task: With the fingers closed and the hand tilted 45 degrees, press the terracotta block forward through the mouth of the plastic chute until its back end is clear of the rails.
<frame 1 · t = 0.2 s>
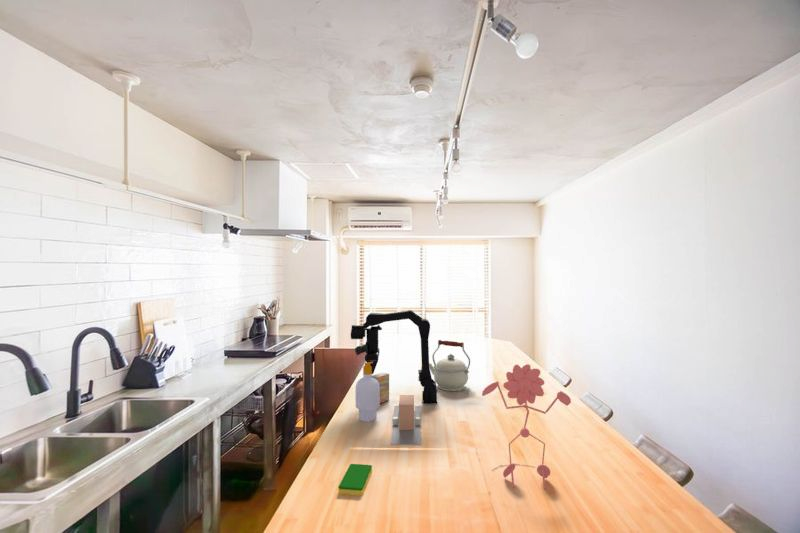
hand: (372, 371, 193), 15 cm above the table, tool pointing down, fingers open, 9 cm apart
supplement box: (380, 401, 193), on the table
dish sponge: (356, 483, 121), on the table
soap bottle: (367, 419, 171), on the table
kettle: (448, 387, 216), on the table
block: (406, 423, 164), point 1 cm above the table, touching chute
chute: (406, 422, 167), on the table
figurine: (524, 477, 124), on the table
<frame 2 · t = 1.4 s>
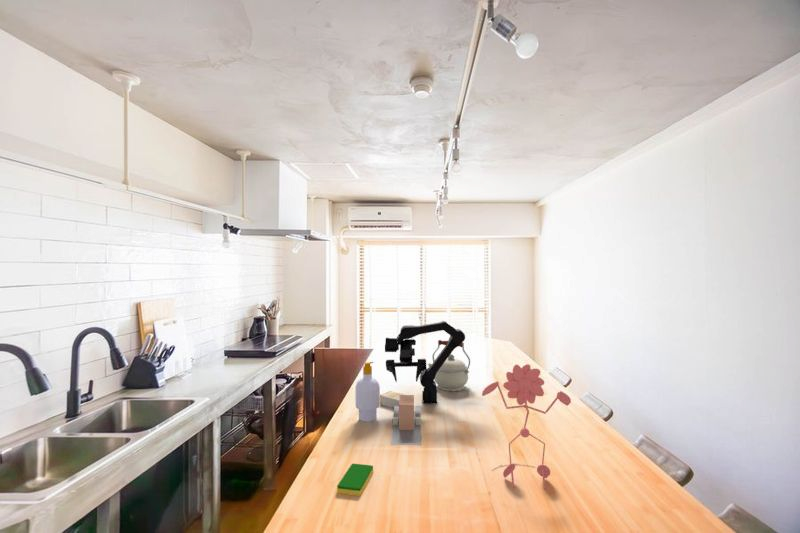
hand: (406, 381, 180), 14 cm above the table, tool tilted 45°, fingers open, 9 cm apart
supplement box: (385, 397, 192), point 2 cm above the table
everything else where it was.
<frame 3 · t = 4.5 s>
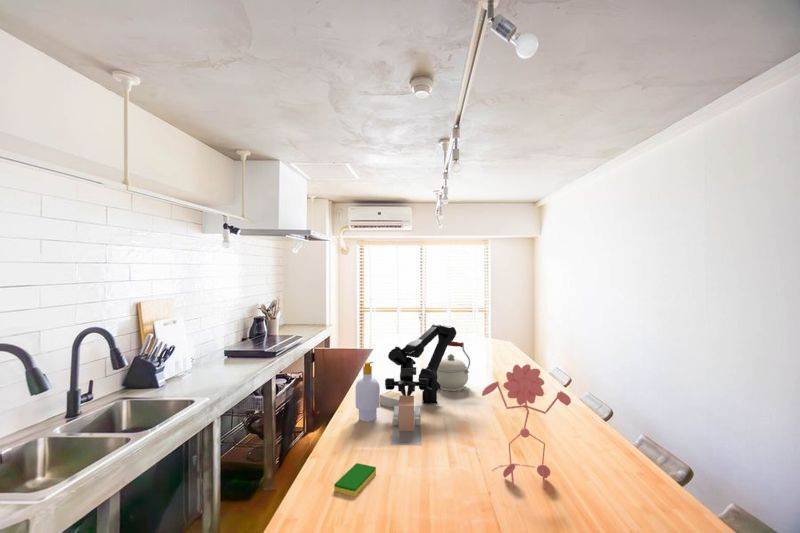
hand: (406, 402, 169), 8 cm above the table, tool tilted 45°, fingers closed, pressing on block
block: (406, 424, 163), point 1 cm above the table, touching gripper
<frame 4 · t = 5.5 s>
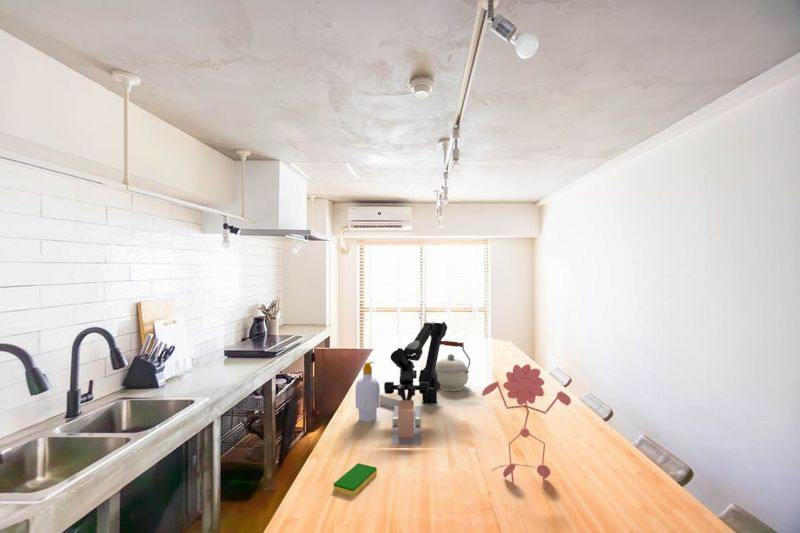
hand: (406, 407, 163), 8 cm above the table, tool tilted 45°, fingers closed
block: (406, 430, 157), point 1 cm above the table
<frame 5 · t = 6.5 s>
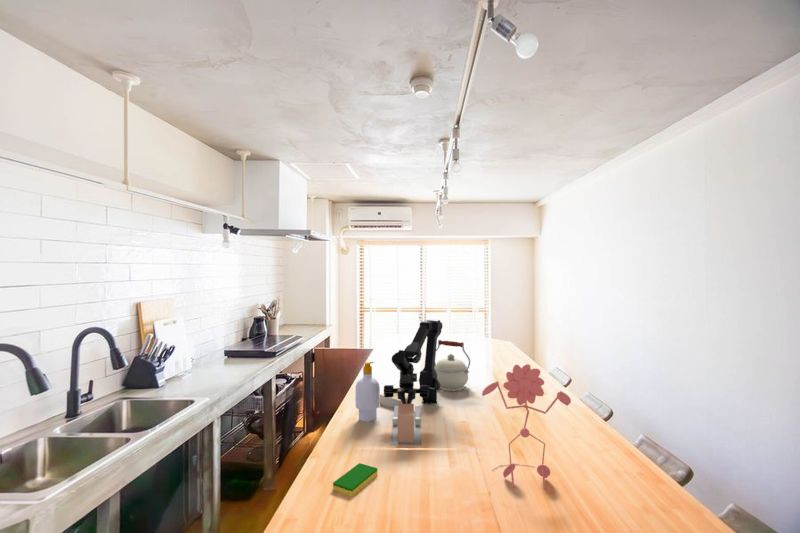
hand: (406, 411, 159), 8 cm above the table, tool tilted 45°, fingers closed, pressing on block
block: (406, 435, 153), point 1 cm above the table, touching chute, gripper
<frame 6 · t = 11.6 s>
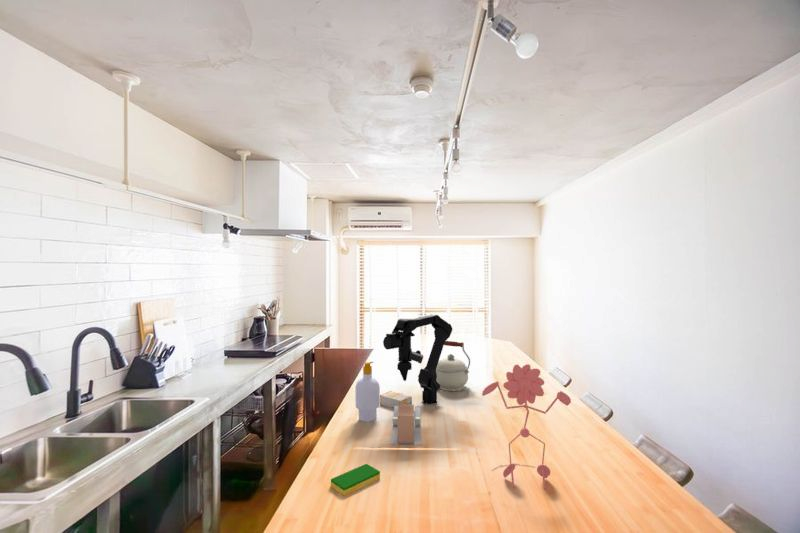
hand: (404, 380, 183), 13 cm above the table, tool pointing down, fingers closed
block: (406, 436, 152), point 1 cm above the table, touching chute
at the end: block inside the target area on the chute (1.6 cm from its centre), point 0.6 cm above the chute's base; block tilted 0° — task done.
